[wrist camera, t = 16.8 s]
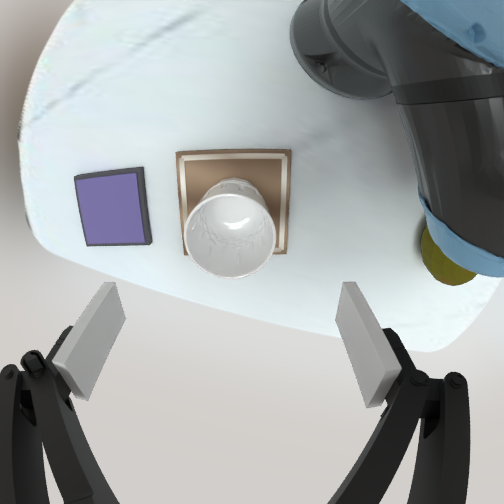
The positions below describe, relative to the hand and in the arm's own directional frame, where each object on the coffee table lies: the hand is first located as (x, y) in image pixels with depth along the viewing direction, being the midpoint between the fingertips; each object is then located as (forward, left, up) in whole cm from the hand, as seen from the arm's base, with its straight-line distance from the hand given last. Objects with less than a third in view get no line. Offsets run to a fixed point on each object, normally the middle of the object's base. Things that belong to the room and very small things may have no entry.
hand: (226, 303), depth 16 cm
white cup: (0, 0, -19) cm, 19 cm away
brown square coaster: (0, 0, -20) cm, 20 cm away
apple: (+4, +30, -21) cm, 36 cm away
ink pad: (0, -16, -20) cm, 26 cm away
